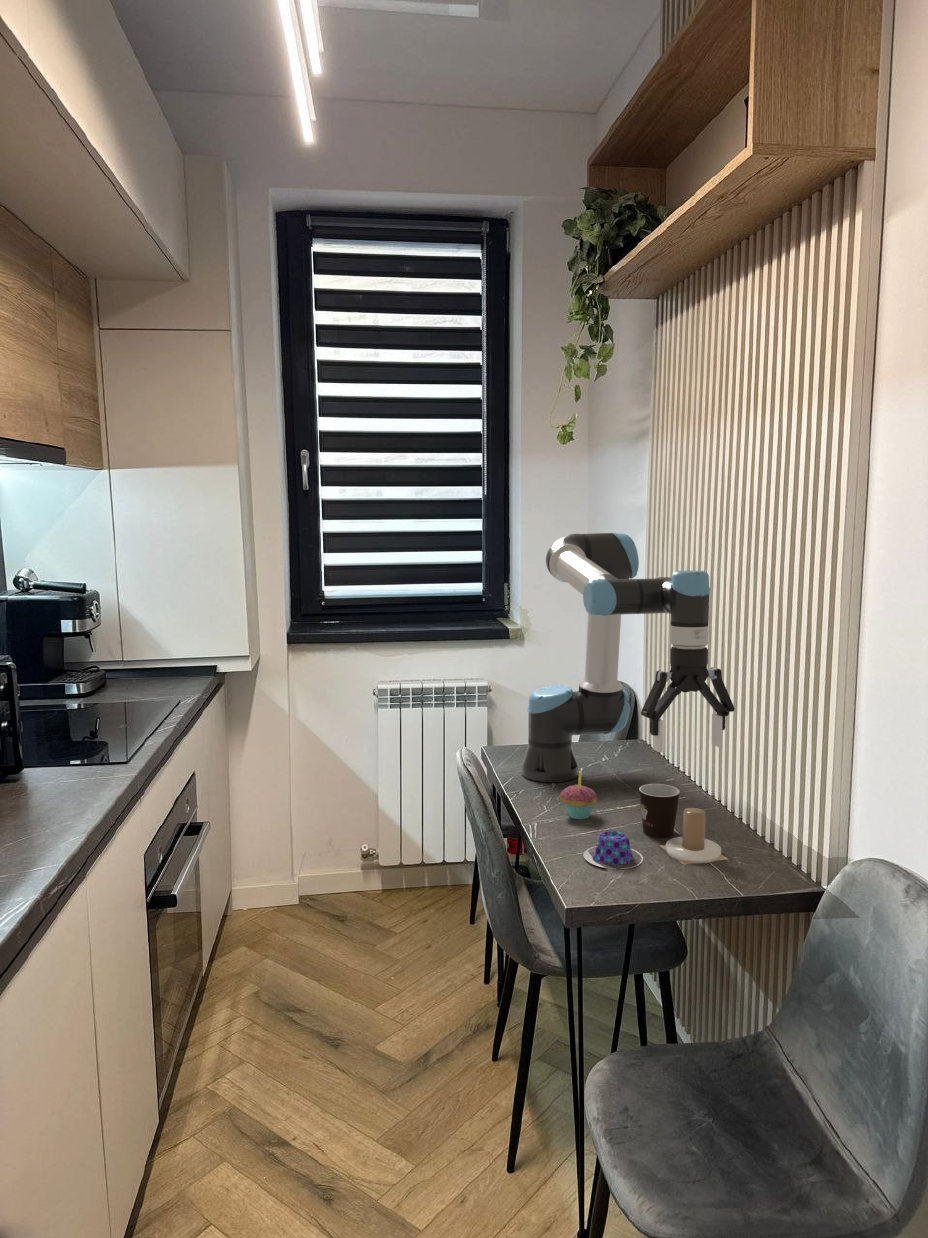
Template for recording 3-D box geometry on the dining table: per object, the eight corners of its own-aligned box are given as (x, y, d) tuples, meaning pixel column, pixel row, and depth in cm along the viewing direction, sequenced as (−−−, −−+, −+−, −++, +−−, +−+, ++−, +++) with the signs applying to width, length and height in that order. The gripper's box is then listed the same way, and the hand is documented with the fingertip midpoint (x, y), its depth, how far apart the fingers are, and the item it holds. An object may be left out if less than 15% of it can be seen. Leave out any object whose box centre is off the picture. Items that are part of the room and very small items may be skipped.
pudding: (613, 878, 164) (614, 852, 163) (571, 857, 173) (571, 833, 173) (655, 862, 171) (656, 837, 170) (612, 843, 180) (612, 820, 180)
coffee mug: (679, 843, 180) (680, 798, 178) (638, 840, 181) (639, 795, 180) (676, 823, 191) (678, 780, 190) (638, 821, 193) (639, 778, 191)
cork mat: (659, 847, 177) (659, 845, 177) (701, 842, 180) (701, 840, 180) (684, 866, 168) (684, 864, 168) (728, 860, 170) (728, 859, 170)
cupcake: (600, 822, 192) (601, 771, 190) (563, 823, 192) (563, 771, 190) (592, 808, 200) (593, 760, 199) (557, 809, 200) (557, 760, 198)
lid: (656, 845, 178) (657, 805, 177) (702, 839, 181) (703, 800, 179) (683, 866, 167) (684, 824, 166) (731, 859, 170) (733, 818, 169)
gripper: (642, 651, 165) (641, 757, 167) (753, 645, 172) (751, 747, 174) (625, 646, 172) (624, 748, 175) (732, 641, 179) (730, 739, 181)
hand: (687, 748), depth 174 cm, fingers open, 13 cm apart
